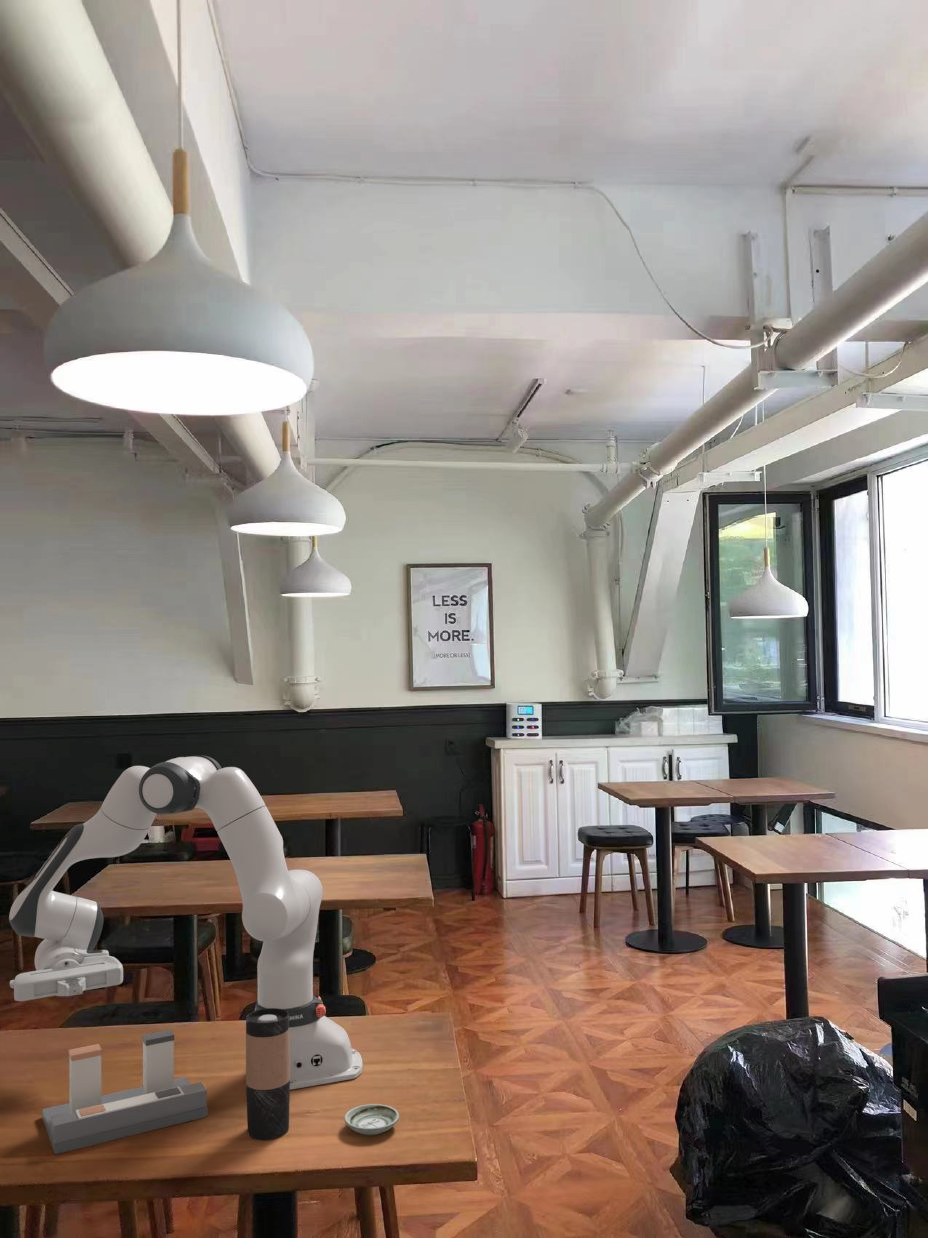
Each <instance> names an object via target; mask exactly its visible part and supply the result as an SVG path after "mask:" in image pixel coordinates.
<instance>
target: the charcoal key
mask: <svg viewBox="0 0 928 1238" xmlns="http://www.w3.org/2000/svg"><path fill="white" fill-rule="evenodd" d="M141 1039H142V1040H141V1041H142V1087H143V1095H145V1094H149V1093H153V1092H158V1091H162V1090H166V1089H171V1088H174V1079H175V1060H174V1059H175V1052H174V1051H175V1048H174V1047H175V1042H174V1041H175V1034H174V1032H173V1031H172V1030H171V1029H167V1030H161V1031H156V1032H152V1033H147V1034H142V1035H141Z"/></svg>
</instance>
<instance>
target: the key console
mask: <svg viewBox="0 0 928 1238" xmlns="http://www.w3.org/2000/svg"><path fill="white" fill-rule="evenodd" d="M207 1091H208V1090H207V1088H206V1087H205V1086H204V1085H203V1083H202V1082H196V1083H190V1081H189V1080H188V1078H187V1077H186V1076H183V1077H179V1078H174V1088H171V1089H166V1090H162V1091H158V1092H153V1093H149V1094H145V1095H143V1086H138V1087H135V1088H129V1089H126V1090H125V1089H124V1090H121V1091H116V1092H113V1093H108V1094H104V1095H101V1105H97V1106H92V1107H88V1108H84V1109H79V1110H76V1111H74V1112H69V1102H68V1103H64V1104H58V1105H54V1106H50V1107H45V1108H43V1109H42V1111H41V1113H42V1116H41V1117H42V1121H43V1123H44V1126H45V1129H46V1132H47V1135H48V1139H49V1141H50V1145H51V1148H52V1150H53V1154H54V1155H58V1154H62V1153H66V1152H70V1151H74V1150H78V1149H82V1148H86V1147H90V1146H95V1145H98V1144H102V1143H106V1142H110V1141H115V1140H119V1139H122V1138H127V1137H130V1136H135V1135H139V1134H143V1133H147V1132H150V1131H154V1130H159V1129H163V1128H166V1127H171V1126H175V1125H179V1124H183V1123H186V1122H190V1121H195V1120H198V1119H203V1118H207V1117H208V1116H209V1115H208V1114H209V1113H208V1112H209V1109H208V1105H207V1104H208V1103H207V1102H208V1100H207V1099H208V1092H207Z"/></svg>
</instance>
